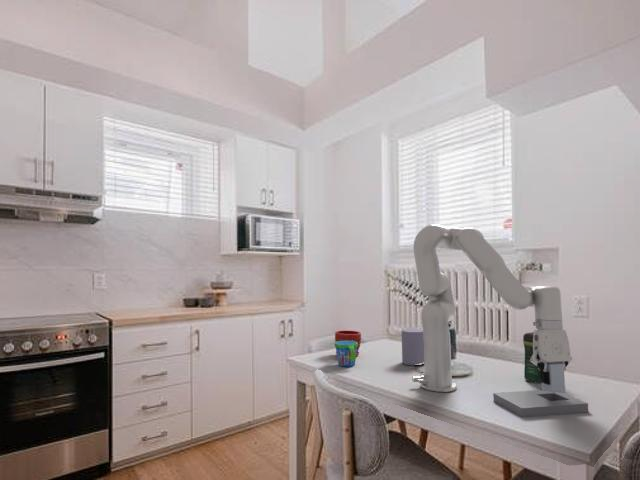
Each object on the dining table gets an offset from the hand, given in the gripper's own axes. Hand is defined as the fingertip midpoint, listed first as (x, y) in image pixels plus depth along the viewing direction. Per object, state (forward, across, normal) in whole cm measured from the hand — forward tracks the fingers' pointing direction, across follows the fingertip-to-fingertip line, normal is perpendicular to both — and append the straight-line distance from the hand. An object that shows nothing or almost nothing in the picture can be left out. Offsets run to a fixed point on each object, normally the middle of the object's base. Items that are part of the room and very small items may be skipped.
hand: (552, 382), depth 122 cm
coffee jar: (+7, +14, +24) cm, 29 cm away
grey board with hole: (+7, -5, 0) cm, 9 cm away
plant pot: (+6, -48, +80) cm, 94 cm away
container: (+7, -22, +59) cm, 64 cm away
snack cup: (+6, -53, +62) cm, 82 cm away
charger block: (+2, 0, 0) cm, 2 cm away
